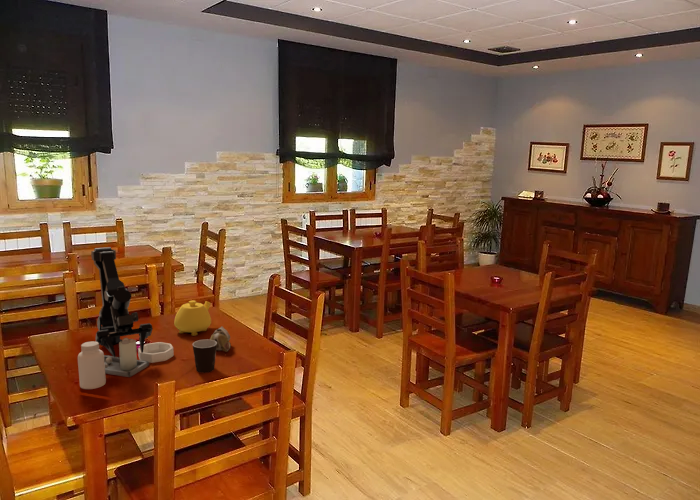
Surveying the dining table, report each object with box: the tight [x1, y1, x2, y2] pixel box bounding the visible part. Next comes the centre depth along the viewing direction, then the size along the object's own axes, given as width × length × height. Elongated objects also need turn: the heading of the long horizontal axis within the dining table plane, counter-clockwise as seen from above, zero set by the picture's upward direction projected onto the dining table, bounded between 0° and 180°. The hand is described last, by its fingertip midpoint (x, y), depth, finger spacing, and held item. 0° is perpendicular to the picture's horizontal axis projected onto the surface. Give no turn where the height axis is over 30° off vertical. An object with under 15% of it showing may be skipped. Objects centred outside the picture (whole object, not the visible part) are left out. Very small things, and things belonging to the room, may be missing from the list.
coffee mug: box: [191, 338, 217, 374], centre depth 198 cm, size 12×9×10 cm
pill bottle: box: [77, 340, 107, 390], centre depth 180 cm, size 8×8×15 cm
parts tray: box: [104, 354, 150, 378], centre depth 194 cm, size 19×11×3 cm, turn 75°
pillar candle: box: [118, 337, 138, 372], centre depth 192 cm, size 6×6×12 cm
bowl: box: [137, 341, 175, 364], centre depth 206 cm, size 12×12×4 cm
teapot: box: [173, 299, 212, 337], centre depth 238 cm, size 20×16×14 cm
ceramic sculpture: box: [209, 325, 232, 353], centre depth 217 cm, size 11×9×15 cm
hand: (128, 354), depth 191 cm, fingers open, 9 cm apart
